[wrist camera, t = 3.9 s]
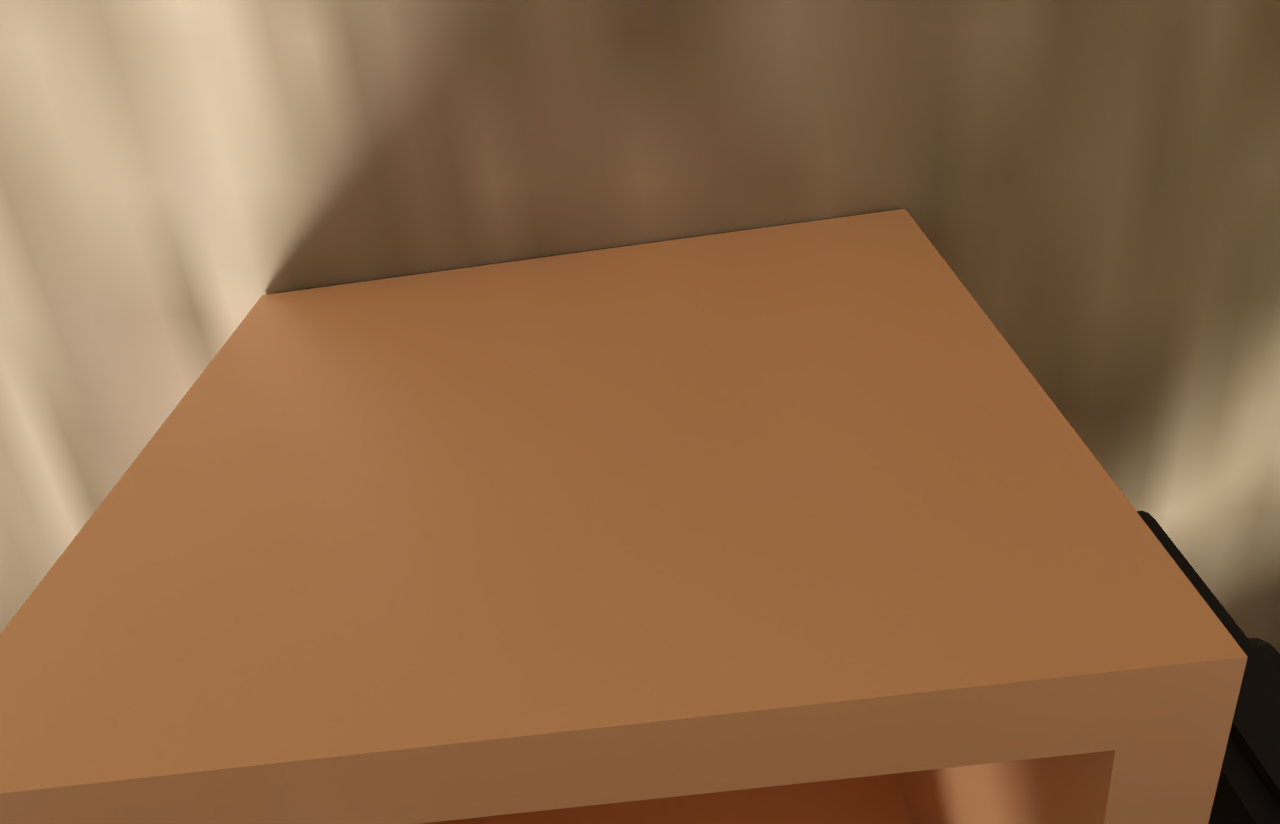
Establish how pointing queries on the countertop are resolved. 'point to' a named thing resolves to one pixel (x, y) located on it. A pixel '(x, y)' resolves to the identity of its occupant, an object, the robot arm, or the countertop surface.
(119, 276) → the countertop surface
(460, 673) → the orange cube cubby
